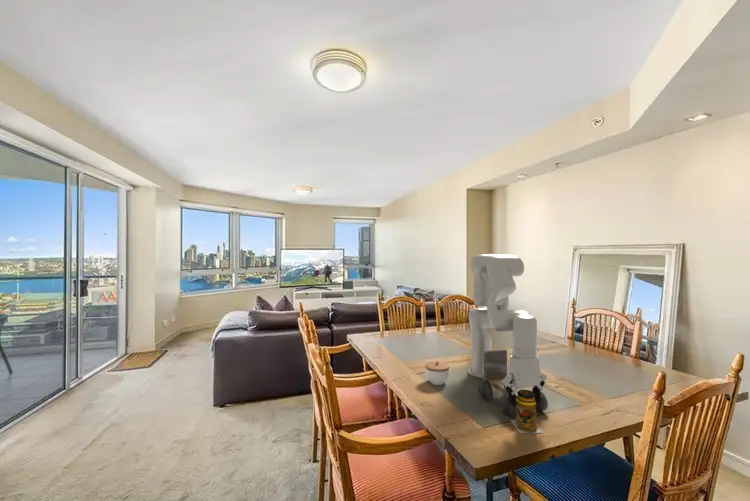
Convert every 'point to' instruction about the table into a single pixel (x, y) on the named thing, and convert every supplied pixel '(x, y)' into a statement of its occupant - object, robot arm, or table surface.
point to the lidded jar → (437, 372)
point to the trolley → (493, 377)
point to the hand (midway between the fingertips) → (524, 402)
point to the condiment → (526, 413)
